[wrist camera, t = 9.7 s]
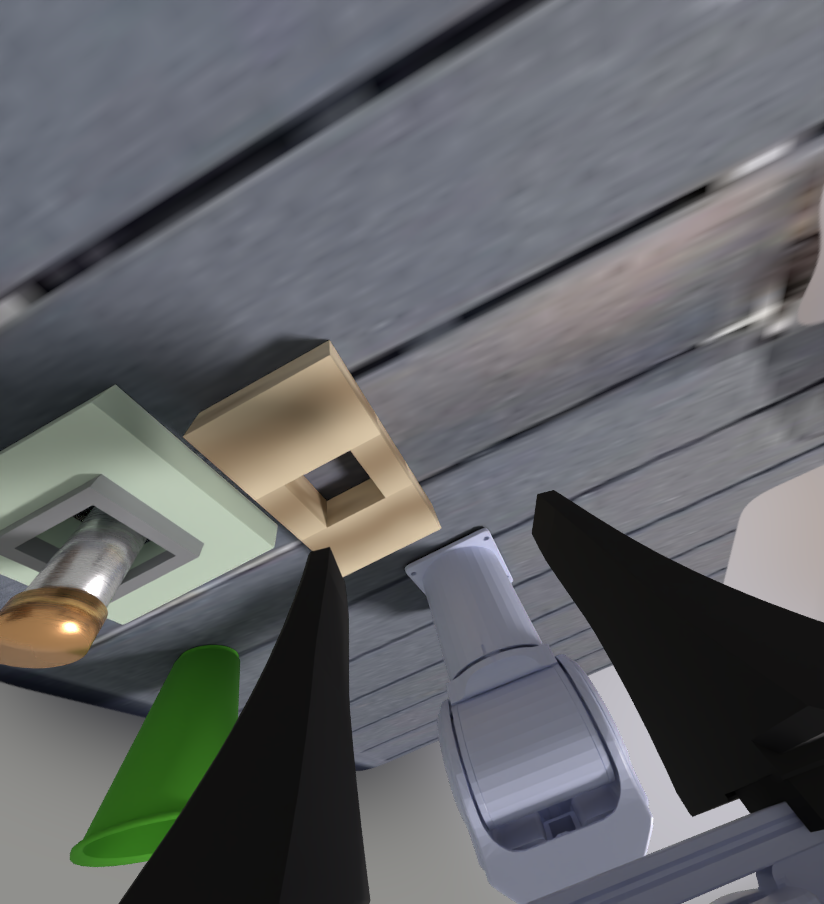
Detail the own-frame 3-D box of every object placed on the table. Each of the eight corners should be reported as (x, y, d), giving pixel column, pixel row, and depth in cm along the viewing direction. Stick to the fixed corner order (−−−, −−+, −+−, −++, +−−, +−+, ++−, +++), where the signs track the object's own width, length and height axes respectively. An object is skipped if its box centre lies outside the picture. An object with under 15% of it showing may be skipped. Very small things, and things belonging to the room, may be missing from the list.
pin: (177, 513, 20) (109, 643, 14) (133, 537, 21) (47, 675, 14) (127, 478, 18) (20, 611, 12) (79, 505, 19) (-50, 650, 12)
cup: (222, 690, 33) (184, 858, 24) (126, 671, 28) (34, 875, 19) (283, 648, 31) (267, 813, 22) (192, 620, 26) (124, 818, 17)
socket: (277, 525, 23) (272, 560, 20) (137, 598, 24) (115, 639, 21) (115, 384, 16) (77, 412, 13) (-76, 496, 17) (-145, 541, 14)
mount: (431, 504, 25) (441, 528, 23) (341, 549, 25) (342, 577, 23) (329, 339, 17) (330, 354, 15) (199, 412, 17) (182, 436, 15)
